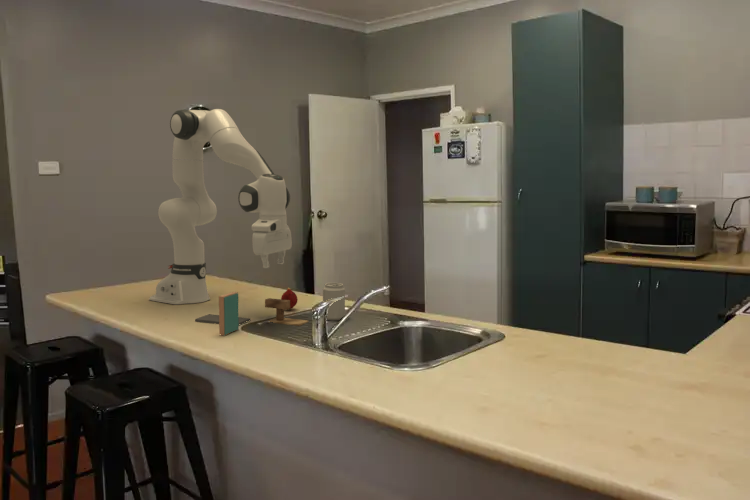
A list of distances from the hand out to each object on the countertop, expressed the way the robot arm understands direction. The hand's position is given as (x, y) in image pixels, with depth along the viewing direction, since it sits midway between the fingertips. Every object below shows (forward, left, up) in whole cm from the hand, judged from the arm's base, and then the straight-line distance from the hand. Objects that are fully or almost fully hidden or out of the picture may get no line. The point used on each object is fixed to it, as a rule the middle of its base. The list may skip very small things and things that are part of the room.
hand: (273, 266), depth 212 cm
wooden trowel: (+4, 0, -19) cm, 19 cm away
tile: (-5, -19, -18) cm, 27 cm away
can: (+17, +11, -19) cm, 27 cm away
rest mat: (-15, -7, -18) cm, 25 cm away
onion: (-3, +17, -19) cm, 25 cm away
